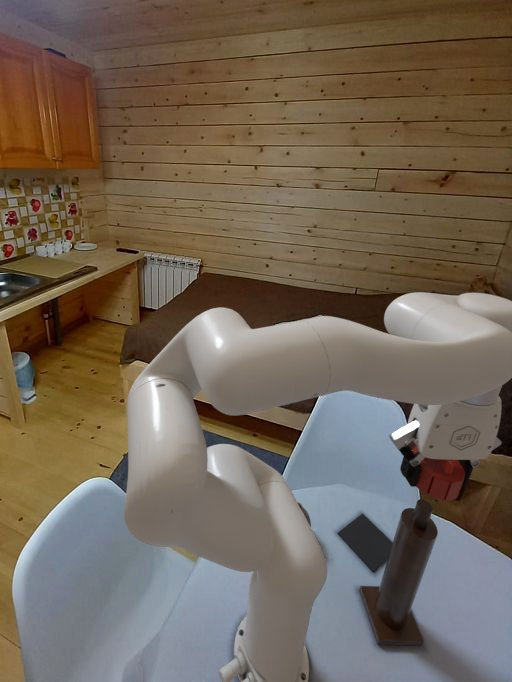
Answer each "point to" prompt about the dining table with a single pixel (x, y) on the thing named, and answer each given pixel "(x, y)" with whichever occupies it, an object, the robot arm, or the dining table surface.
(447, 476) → the ring
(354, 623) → the dining table surface
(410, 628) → the ring holder
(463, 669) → the dining table surface
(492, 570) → the dining table surface
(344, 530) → the felt mat
